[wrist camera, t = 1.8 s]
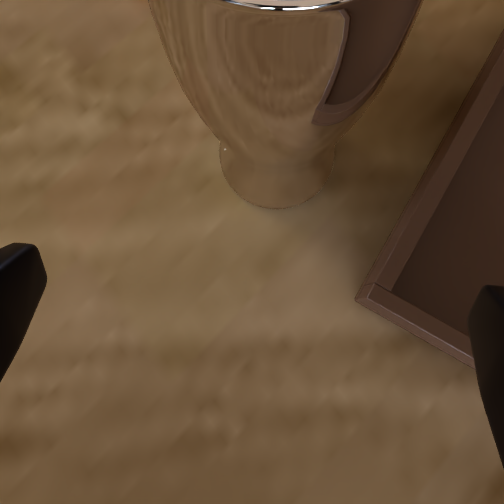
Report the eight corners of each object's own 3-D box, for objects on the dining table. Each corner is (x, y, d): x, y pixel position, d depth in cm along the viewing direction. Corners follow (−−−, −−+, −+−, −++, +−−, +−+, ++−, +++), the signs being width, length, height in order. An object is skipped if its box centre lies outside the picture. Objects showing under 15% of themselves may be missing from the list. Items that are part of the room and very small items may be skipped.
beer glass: (289, 69, 23) (324, -370, 8) (369, 166, 22) (573, -134, 7) (186, 143, 23) (28, -178, 8) (263, 244, 22) (247, 96, 7)
